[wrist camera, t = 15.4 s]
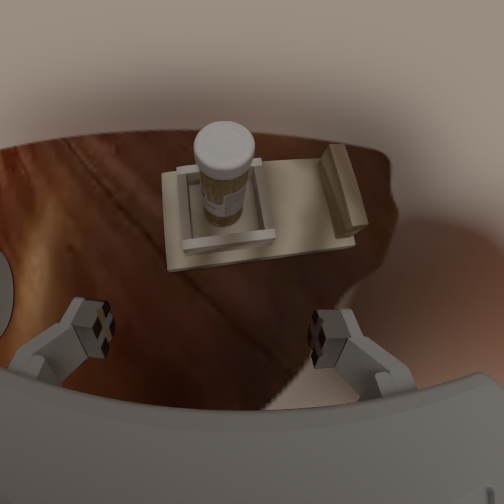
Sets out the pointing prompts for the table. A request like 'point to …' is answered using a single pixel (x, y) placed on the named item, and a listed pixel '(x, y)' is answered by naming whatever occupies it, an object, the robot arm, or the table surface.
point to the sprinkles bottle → (223, 169)
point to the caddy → (266, 213)
